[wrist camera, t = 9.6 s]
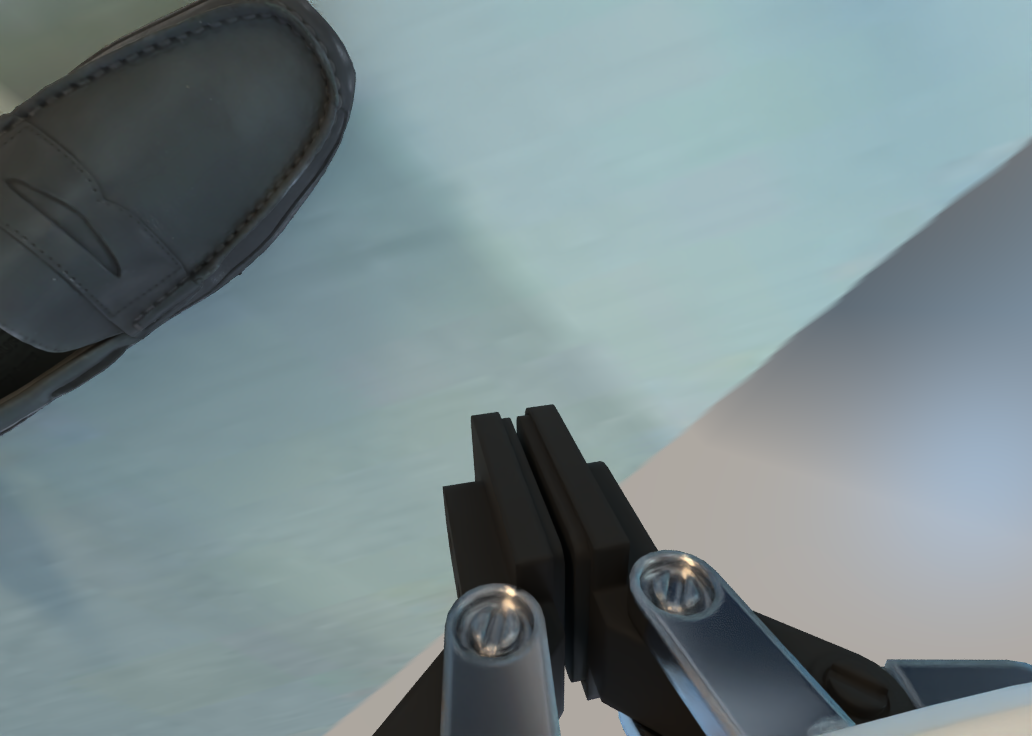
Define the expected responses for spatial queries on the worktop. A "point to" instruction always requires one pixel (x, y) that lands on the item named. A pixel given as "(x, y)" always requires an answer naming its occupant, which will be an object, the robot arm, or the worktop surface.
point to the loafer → (156, 181)
